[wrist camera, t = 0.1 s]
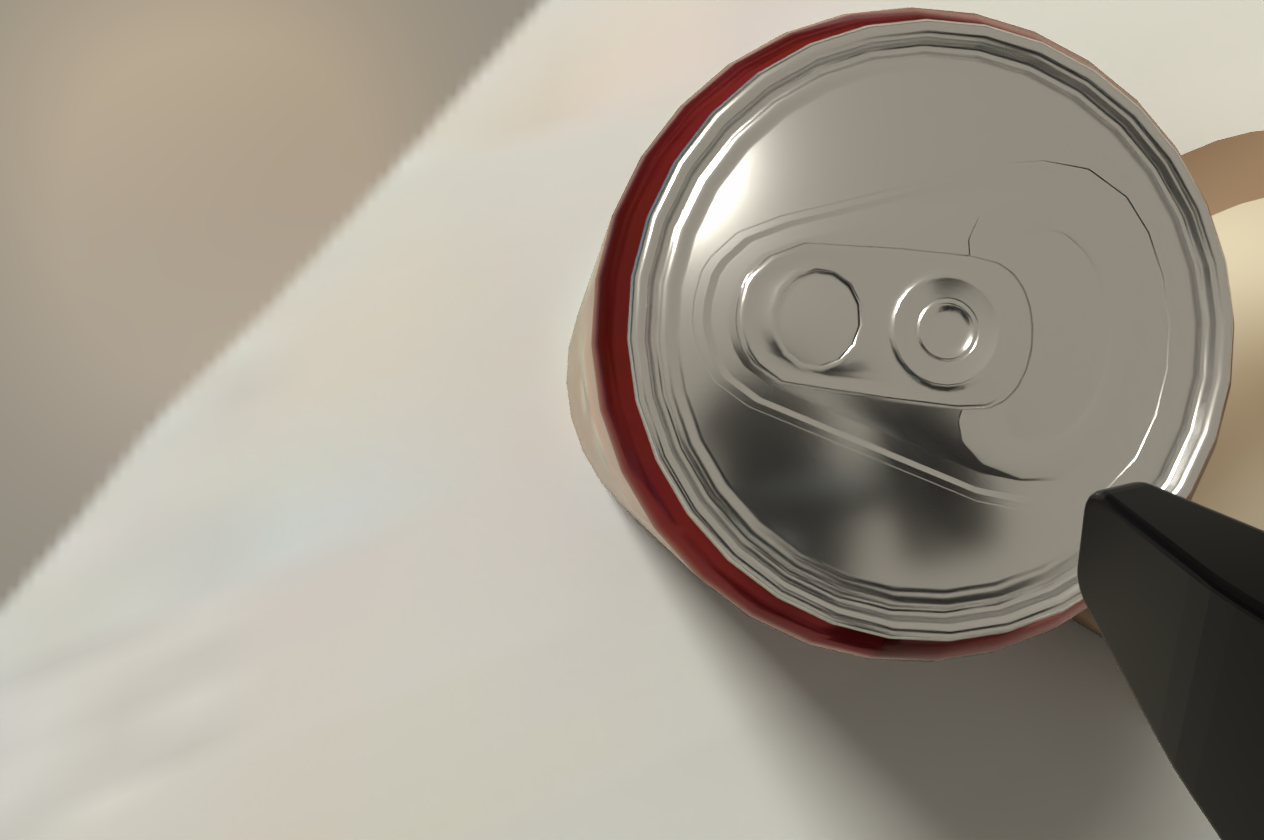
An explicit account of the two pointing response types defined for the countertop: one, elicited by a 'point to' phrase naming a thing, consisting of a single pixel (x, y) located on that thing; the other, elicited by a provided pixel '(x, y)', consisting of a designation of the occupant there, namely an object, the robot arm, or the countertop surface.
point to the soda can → (901, 330)
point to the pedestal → (1235, 327)
